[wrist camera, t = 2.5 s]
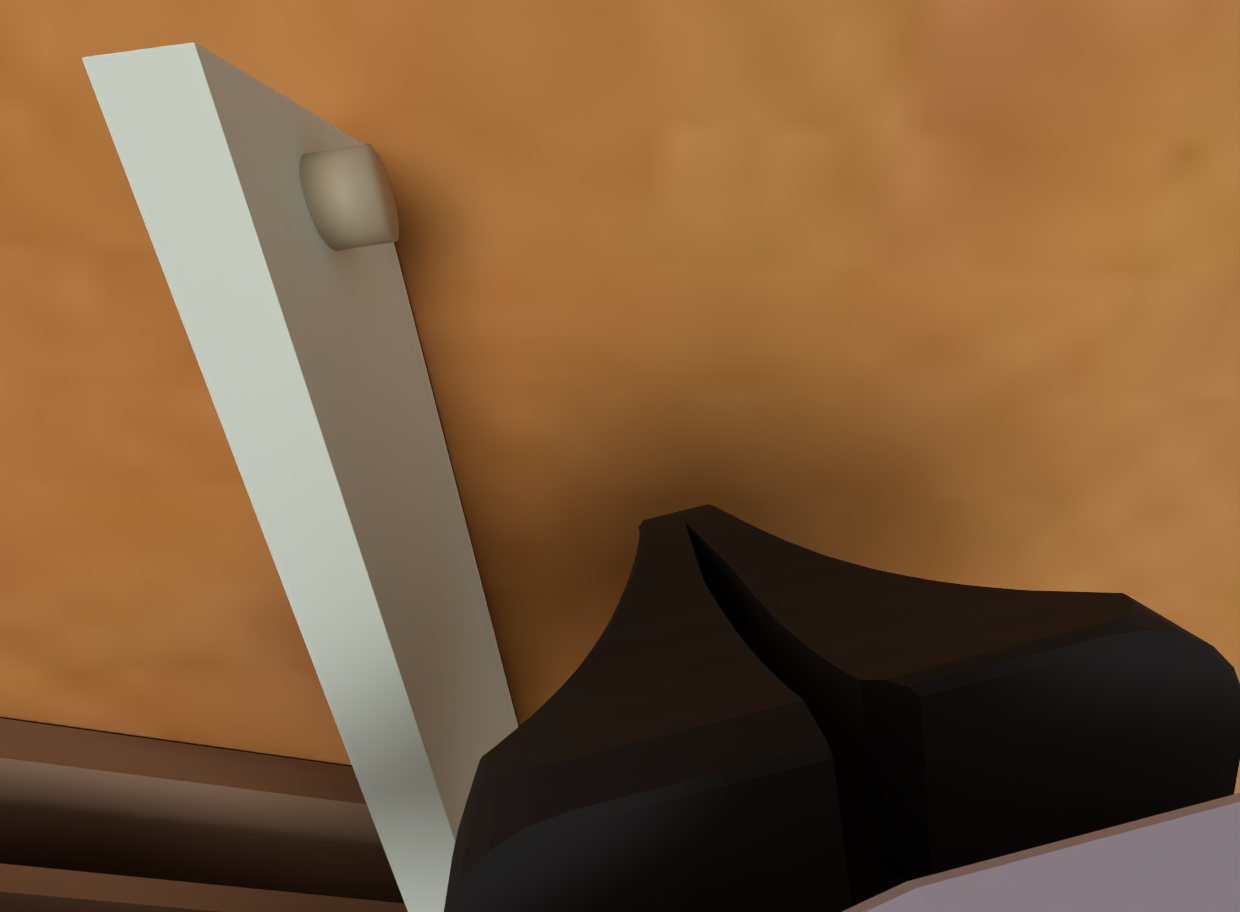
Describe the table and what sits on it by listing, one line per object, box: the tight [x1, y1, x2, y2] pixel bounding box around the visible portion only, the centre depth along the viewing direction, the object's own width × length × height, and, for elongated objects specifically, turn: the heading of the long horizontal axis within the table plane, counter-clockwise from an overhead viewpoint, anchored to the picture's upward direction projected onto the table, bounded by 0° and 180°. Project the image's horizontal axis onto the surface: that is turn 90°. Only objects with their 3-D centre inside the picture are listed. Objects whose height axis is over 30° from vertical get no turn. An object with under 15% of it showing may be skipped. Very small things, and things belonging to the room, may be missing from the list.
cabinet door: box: [81, 42, 518, 912], centre depth 10 cm, size 2×15×6 cm, turn 8°
